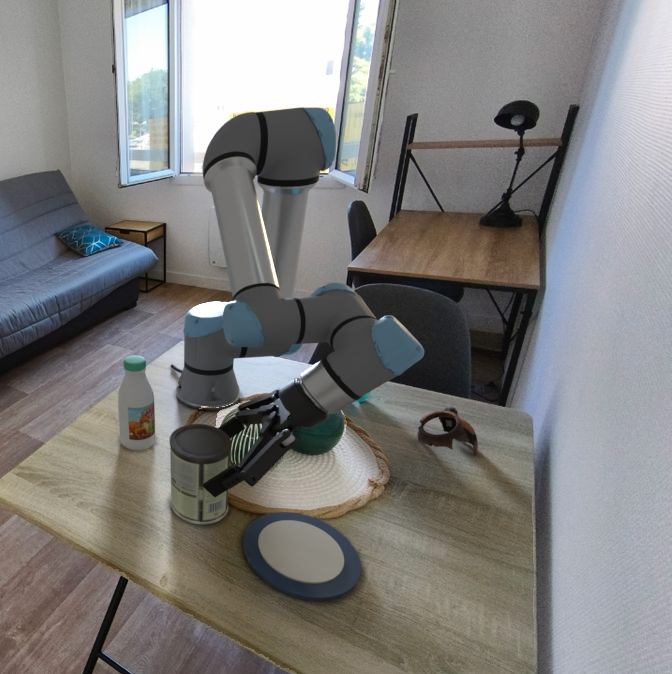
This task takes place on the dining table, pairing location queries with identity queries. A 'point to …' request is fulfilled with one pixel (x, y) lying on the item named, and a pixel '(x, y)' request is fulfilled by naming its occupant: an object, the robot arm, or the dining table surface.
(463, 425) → the brown jagged ring piece
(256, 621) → the dining table surface
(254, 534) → the plate
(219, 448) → the coffee can
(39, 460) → the dining table surface
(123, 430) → the milk bottle
